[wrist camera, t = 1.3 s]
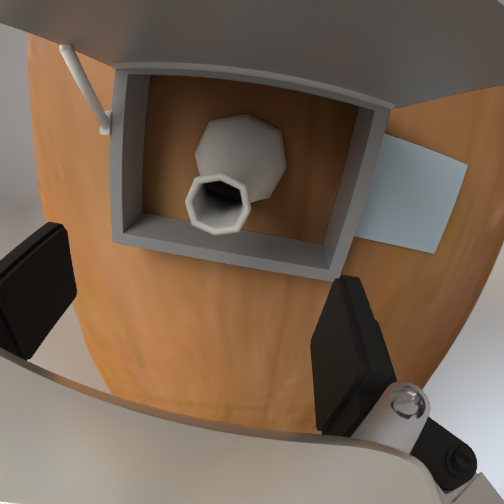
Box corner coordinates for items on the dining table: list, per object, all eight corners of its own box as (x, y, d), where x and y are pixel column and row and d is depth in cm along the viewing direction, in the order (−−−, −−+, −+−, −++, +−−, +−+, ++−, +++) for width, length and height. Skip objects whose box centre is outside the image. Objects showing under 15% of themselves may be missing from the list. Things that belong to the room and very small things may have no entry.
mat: (378, 131, 21) (380, 132, 20) (465, 164, 21) (467, 165, 21) (349, 233, 25) (349, 235, 25) (432, 251, 25) (434, 254, 25)
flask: (191, 195, 25) (147, 258, 16) (199, 108, 21) (147, 124, 12) (279, 208, 25) (279, 280, 16) (295, 121, 21) (308, 144, 13)
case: (141, 56, 19) (112, 51, 15) (375, 90, 19) (398, 92, 15) (132, 221, 26) (108, 247, 22) (330, 256, 27) (338, 288, 22)
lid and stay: (120, 19, 15) (-55, -8, 2) (402, 58, 15) (580, 54, 2) (107, 131, 19) (-59, 216, 7) (375, 173, 20) (496, 318, 7)
